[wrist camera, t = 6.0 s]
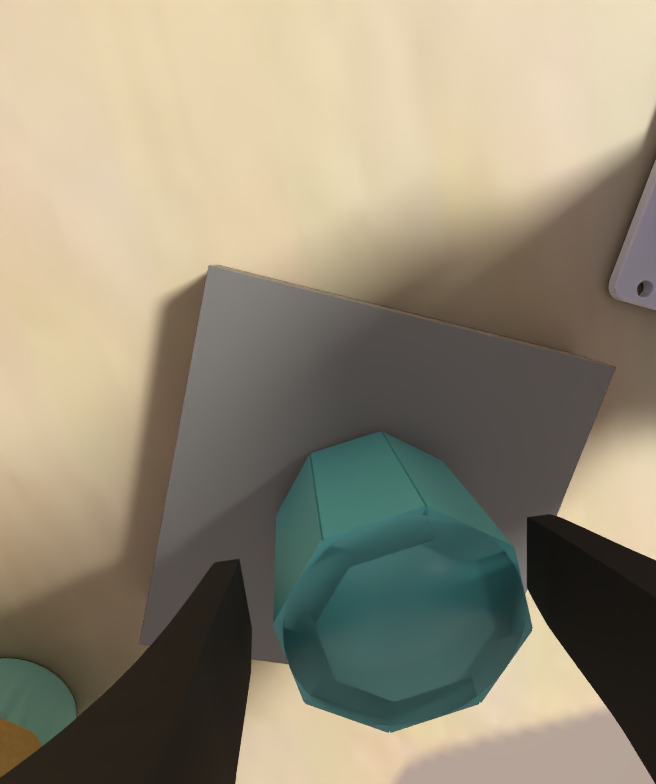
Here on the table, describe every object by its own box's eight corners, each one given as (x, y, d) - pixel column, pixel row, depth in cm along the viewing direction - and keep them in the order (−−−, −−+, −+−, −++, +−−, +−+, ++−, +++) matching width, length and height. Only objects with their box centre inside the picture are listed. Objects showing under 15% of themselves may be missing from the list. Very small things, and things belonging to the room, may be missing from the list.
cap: (432, 414, 14) (500, 481, 9) (469, 564, 15) (544, 682, 11) (258, 469, 14) (247, 562, 9) (313, 614, 15) (324, 754, 11)
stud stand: (576, 354, 16) (738, 406, 10) (465, 647, 19) (545, 816, 13) (218, 264, 14) (173, 266, 9) (155, 601, 17) (89, 772, 11)
